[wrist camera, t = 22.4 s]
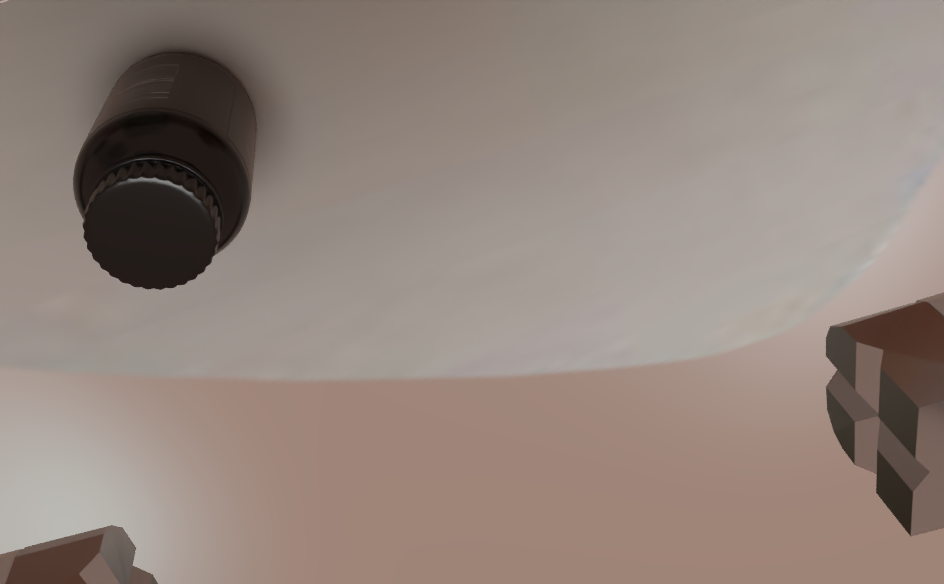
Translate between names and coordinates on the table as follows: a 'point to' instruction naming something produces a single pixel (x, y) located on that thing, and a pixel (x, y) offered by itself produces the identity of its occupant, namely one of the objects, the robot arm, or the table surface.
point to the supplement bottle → (166, 170)
